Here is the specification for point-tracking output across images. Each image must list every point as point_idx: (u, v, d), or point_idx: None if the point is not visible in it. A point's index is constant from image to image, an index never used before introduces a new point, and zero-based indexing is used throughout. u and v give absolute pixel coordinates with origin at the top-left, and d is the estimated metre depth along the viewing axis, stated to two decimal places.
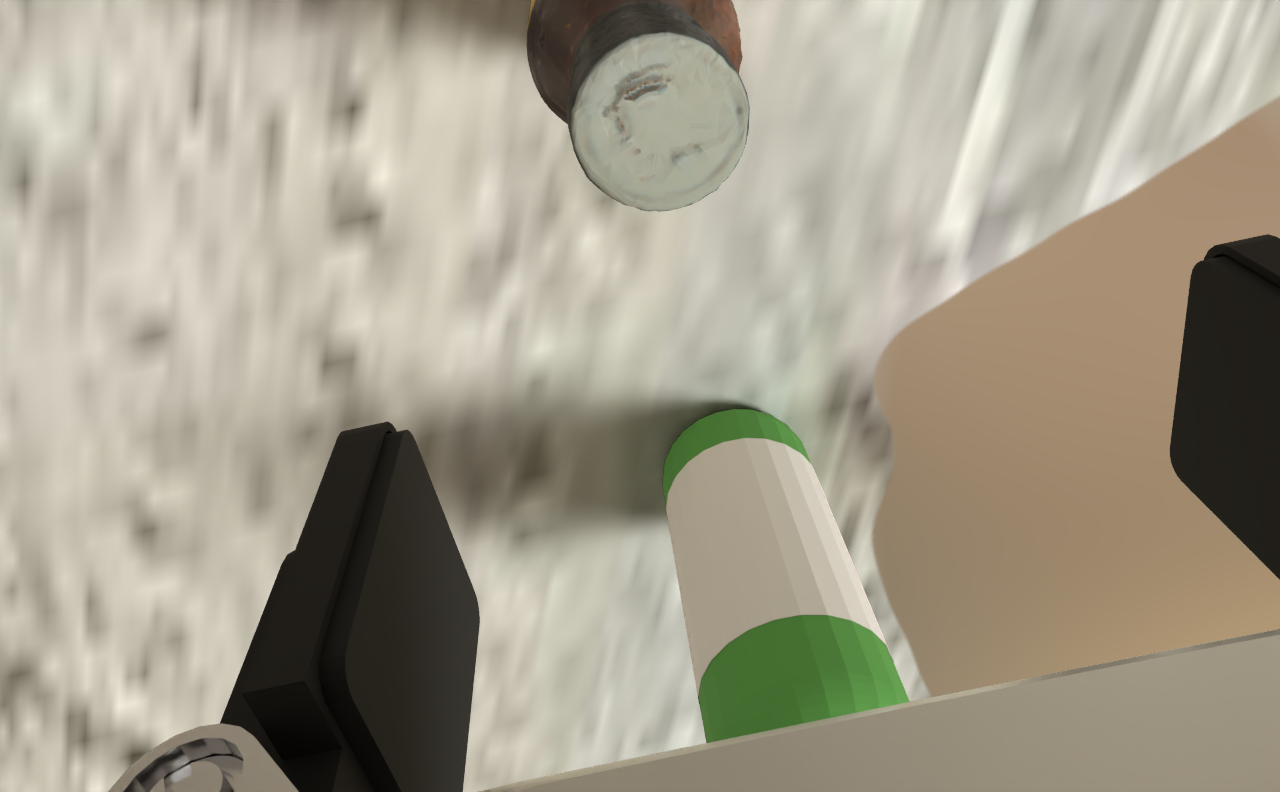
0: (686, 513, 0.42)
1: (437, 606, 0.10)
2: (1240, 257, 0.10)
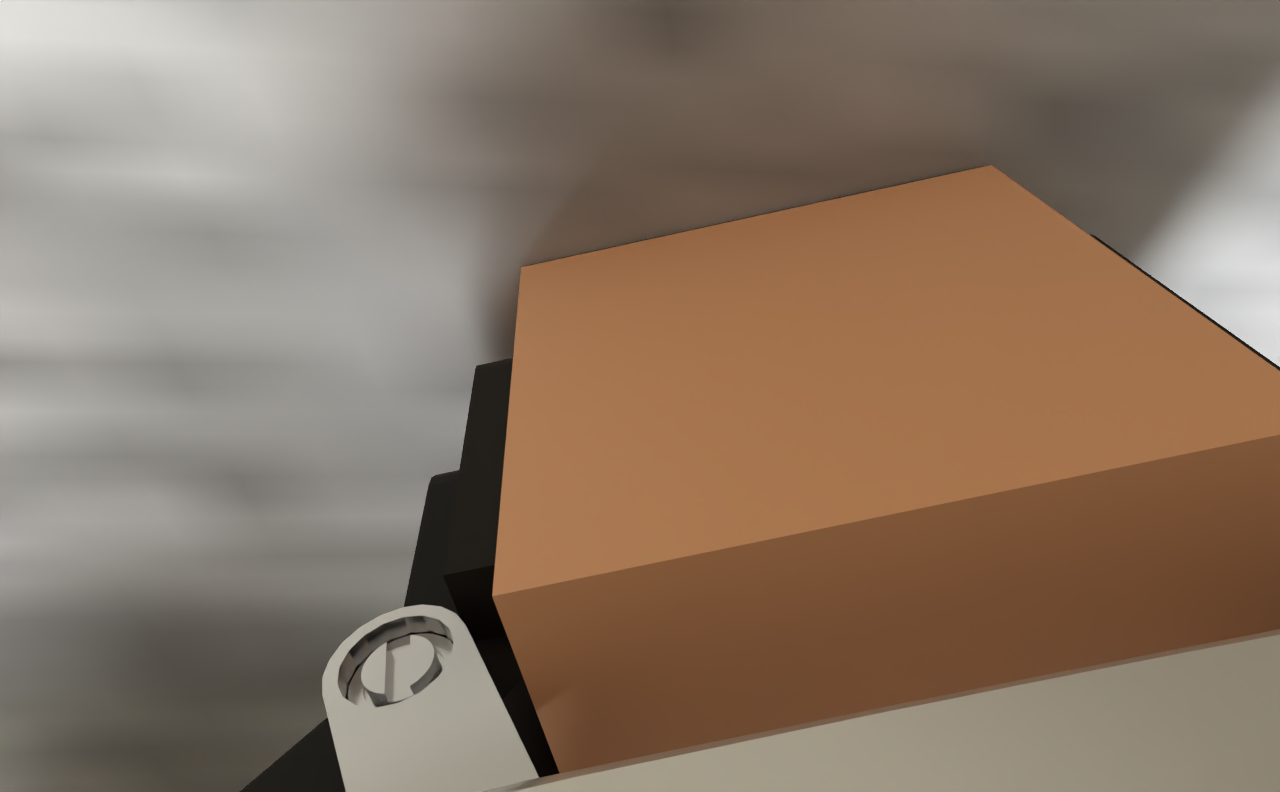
0: None
1: None
2: None
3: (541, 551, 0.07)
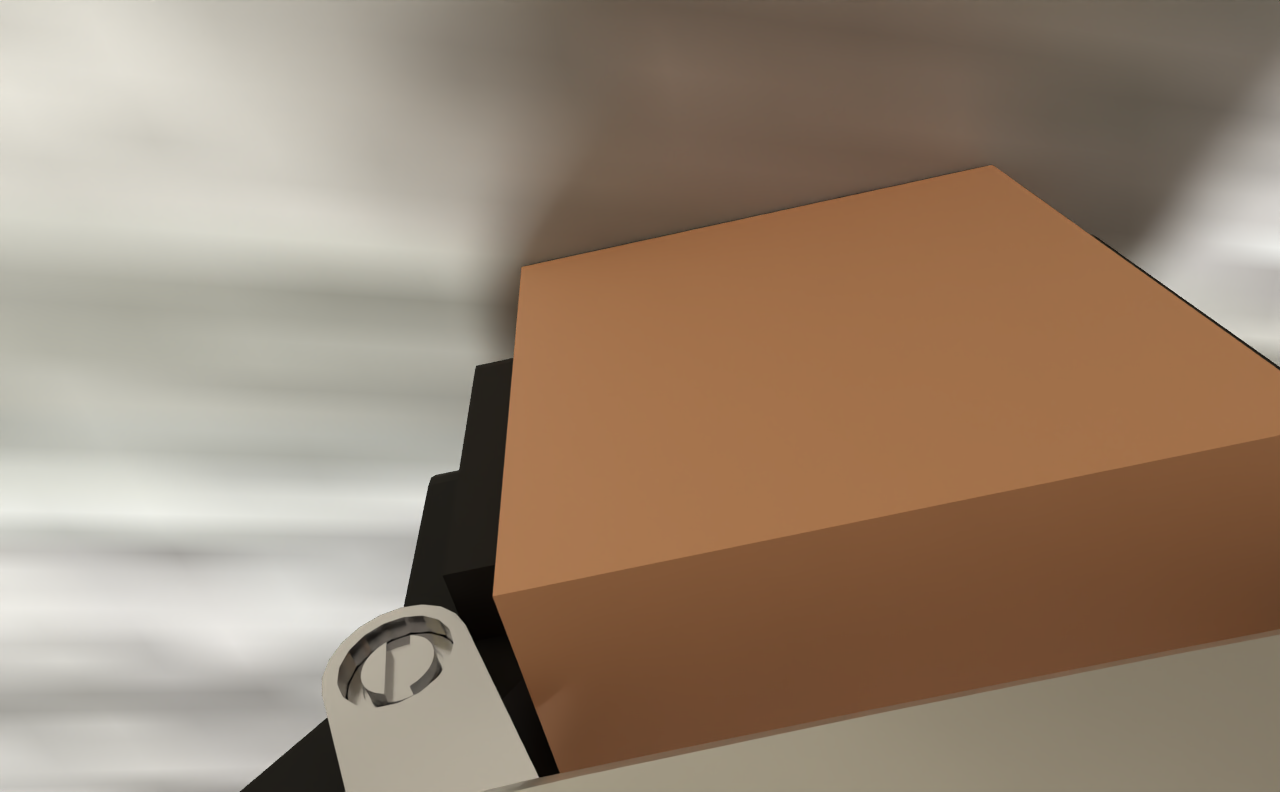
0: None
1: None
2: None
3: (542, 551, 0.07)
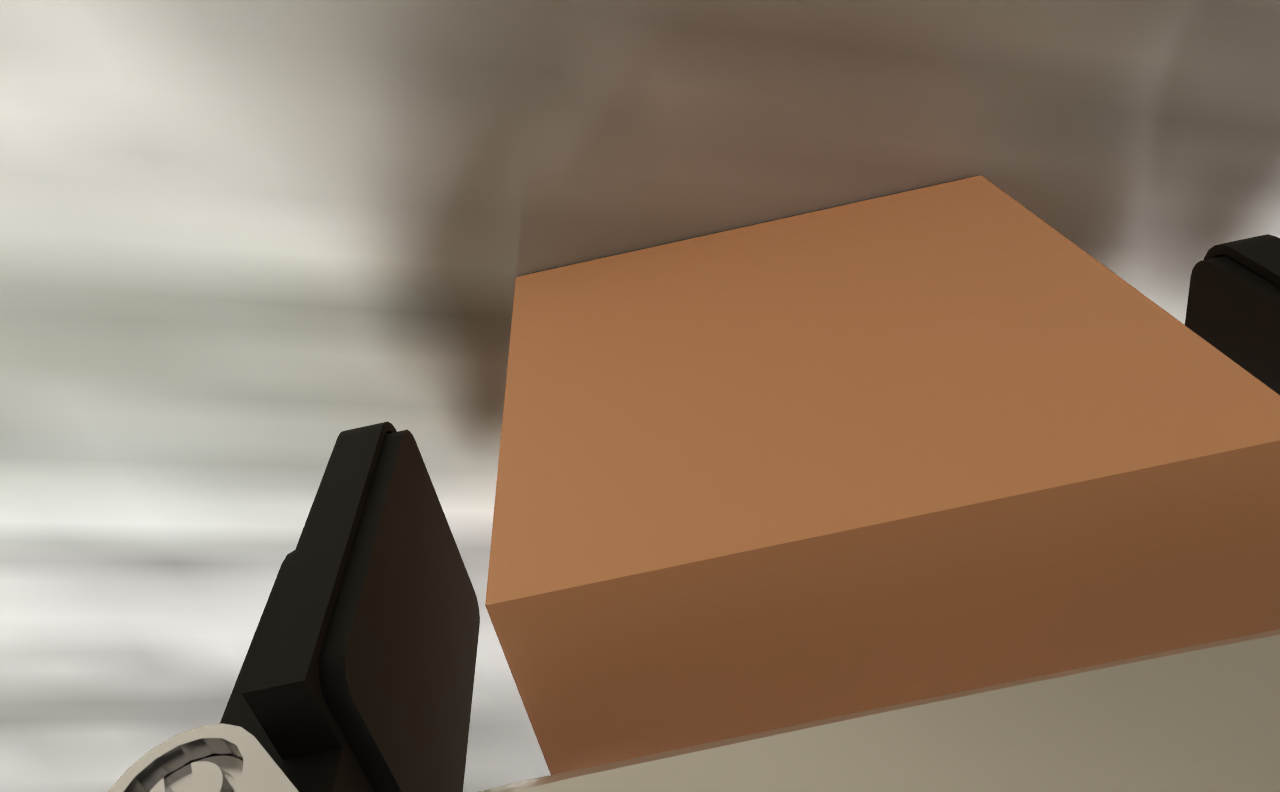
0: None
1: (437, 606, 0.10)
2: (1240, 257, 0.10)
3: (534, 560, 0.07)
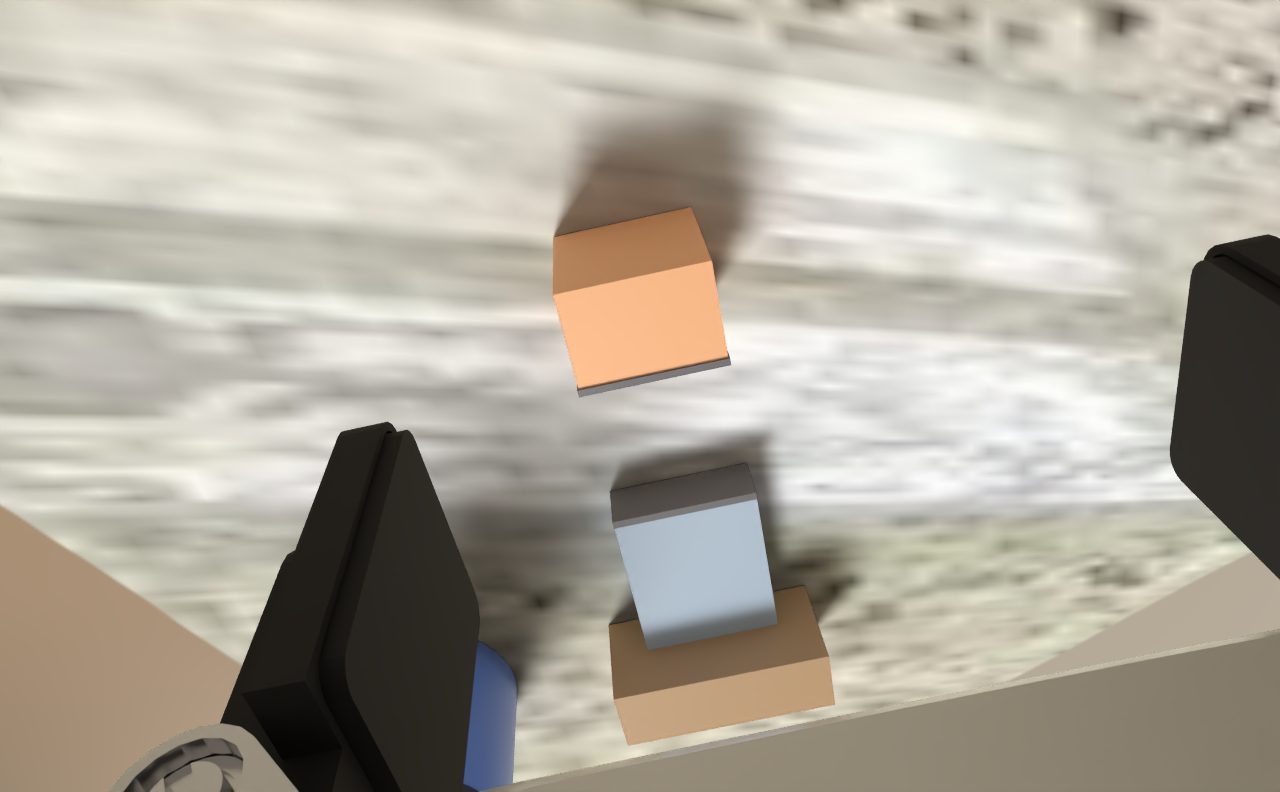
0: None
1: (437, 606, 0.10)
2: (1240, 257, 0.10)
3: (562, 288, 0.34)
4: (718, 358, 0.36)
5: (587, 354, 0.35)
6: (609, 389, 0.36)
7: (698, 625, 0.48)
